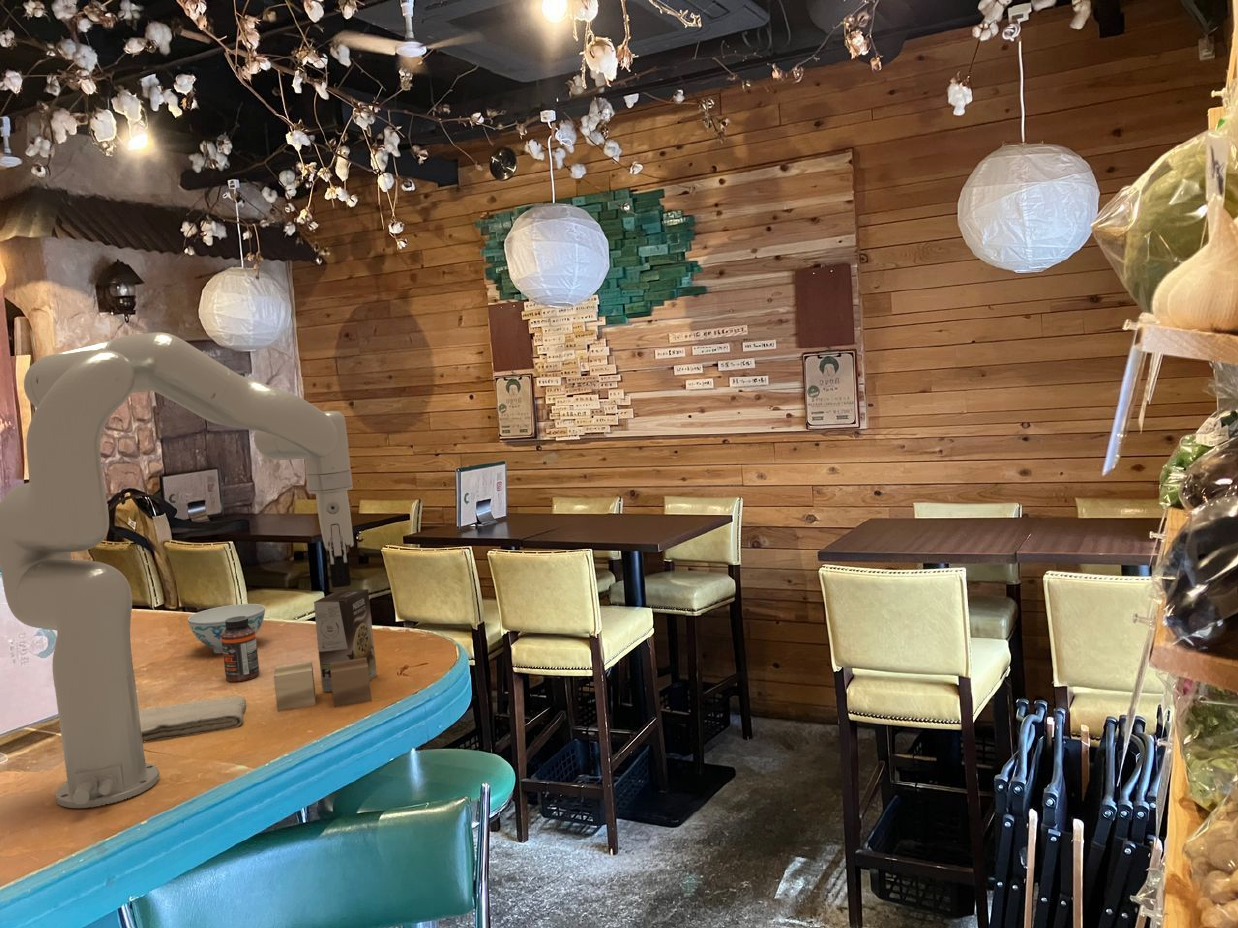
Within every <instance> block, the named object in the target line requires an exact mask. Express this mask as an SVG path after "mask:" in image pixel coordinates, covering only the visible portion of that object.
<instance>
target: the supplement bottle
mask: <svg viewBox="0 0 1238 928" xmlns="http://www.w3.org/2000/svg"><path fill="white" fill-rule="evenodd" d="M248 624H249V622H248V617H247V616H237V617H232V618H228V619H226V620H225V627H226V629H225V631H224V632H223V633H222V635H221V639H222V648H223V653H222V655H223V665H224V675H225V679H226V680H227V681H228V682H231V683H232V682H233V683H239V682H245V681H249V680H252V679H255V678H256V677H258V676H259V674H260V664H259V655H258V647H257V637H256V635H255V630H254V629H253V628H252V627H250V626H249V625H248Z"/></svg>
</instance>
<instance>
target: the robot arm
mask: <svg viewBox="0 0 1238 928" xmlns="http://www.w3.org/2000/svg"><path fill="white" fill-rule="evenodd" d="M23 389H24V393H25V396H26V398H27V400H28V401H29V402H30V403H31V405H33V407H35V408H36V409H35V410H34V412H33V415H32V417H31V419H30V423H29V425H28V429H27V434H26V444H25V445H26V458H27V461H26V462H27V471H28V481H29V482H26V483H23V484H20V485H17V486H16V487H13V488H12V489H11V490H10V491H7V493H6V494H5V496H4V497H3V498H2V499H1V501H0V575H1V579H2V586H3V592H4V596H5V600H6V603H7V605H8V608H9V610H10V612H11V613H12V615H13V616H14V618H15V619H17V620H18V621H20V623H22V624H24V625H26V626H29V627H31V628H35V629H41V630H42V629H43V630H52V631H56V633H57V634H56V641H55V646H54V650H53V653H52V654H53V655H52V664H51V665H52V679H53V686H54V689H55V690H54V691H55V698H56V705H57V707H56V708H57V712H58V714H57V715H58V720H59V728H60V736H61V744H62V750H63V758H64V765H65V773H66V779H67V781H66V782H64V783H63V784H62V785H61V786H60V787H58V789H57V790H56V792H55V798H56V803H57V804H58V805H59V806H61V807H65V808H68V809H69V808H70V809H88V808H89V807H90V808H96V806H97V807H102V806H101V805H103V806H106V805H105V804H108V805H110V803H111V804H115V803H118V801H119V802H121V801H124V799H125V800H127V798H128V799H130V798H133V797H136V796H137V795H139V794H143V793H144V792H145V791H147V790H149V789H151V788H152V787H153V786H155V785H156V784H157V782H158V781H159V779H160V776H161V775H160V769H159V767H158V766H157V765H155V764H153V763H149V762H146V757H145V749H144V742H143V739H142V731H141V723H140V716H139V711H140V708H139V701H138V694H137V693H138V692H137V687H136V685H137V684H136V679H135V678H136V677H135V670H134V664H133V663H134V661H133V654H132V642H131V624H132V623H131V621H132V609H133V595H132V588H131V585H130V583H129V580H128V579H127V577H125V575H124V574H123V573H122V572H121V571H120V570H119V569H117V568H116V567H114V566H112V565H110V564H107V563H104V562H101V561H95V560H79V559H77V560H76V559H73V558H72V553H75V552H76V553H77V552H84V551H89V550H90V549H93V548H96V547H98V546H99V545H100V544H101V543H102V542H104V540H105V538H106V537H107V535H108V533H109V528H110V515H109V506H108V500H107V493H106V486H105V482H104V481H105V480H104V474H103V467H102V466H103V465H102V455H101V441H102V435H103V433H104V429H105V427H106V425H107V423H108V421H109V419H110V418H111V416H113V415H114V413H115V412H116V411H117V410H118V409H119V408H120V407H121V406H122V405H124V404H125V403H126V401H127V400H128V399H129V398H130V396H131V394H133V393H135V394H137V393H143V392H144V393H145V392H153V393H156V394H159V395H161V396H162V397H164V398H166V399H168V400H169V401H171V402H173V403H175V404H177V405H179V406H181V407H182V408H185V409H186V410H188V411H190V412H191V413H193V414H195V415H197V416H198V417H201V418H203V420H206V421H208V422H211V423H213V424H216V425H220V426H225V427H230V428H237V429H243V430H244V429H245V430H252V431H254V434H253V441H254V445H255V447H256V450H257V451H258V452H259V453H260V454H261V455H263V456H264V457H266V458H268V459H270V460H277V461H284V460H285V461H288V460H289V461H290V460H292V461H293V460H304V467H305V474H306V476H305V477H306V483H307V493H308V494H311V495H315V498H316V507H317V514H318V521H319V527H320V528H319V529H320V533H321V536H322V542H323V546H324V548H325V549H326V550H328V551H329V557H330V558H329V559H330V563H329V571H330V580H331V586H332V587H331V588H342V587H348V586H351V583H352V581H351V574H350V564H349V563H350V562H349V561H348V558H347V548H346V546H349V547H350V548H352V547H354V545H355V543H354V533H353V525H352V516H351V508H350V506H351V505H350V501H349V500H350V499H349V496H348V495H349V494H348V491H350V490H353V488H354V486H353V476H352V469H351V457H350V449H349V440H348V432H347V431H348V430H347V423H346V417H345V415H344V414H343V413H342V412H340V411H337V410H336V411H335V410H328V411H323V410H321V409H320V408H318V407H316V406H315V405H314V404H312V403H310V402H309V401H308V400H305V399H303V398H302V397H300V396H298V395H296V394H294V393H292V392H289V391H286V390H283V389H281V388H278V387H274V386H272V385H269V384H266V383H264V382H261V381H258V380H256V379H252V378H249V377H246V376H244V375H241V374H239V373H237V372H235V371H233V370H232V369H230V368H229V367H227V366H226V365H224V364H222V363H221V362H219V361H217V360H216V359H214V358H212V357H211V356H209V355H208V354H206V353H205V352H203V351H202V350H200V349H198V348H196V347H195V346H194V345H192V344H191V343H189V342H187V341H186V340H184V339H182V338H180V337H178V336H176V335H174V334H171V333H168V332H161V331H160V332H157V331H156V332H147V333H140V334H131V335H126V336H125V335H124V336H121V337H117V338H112V339H110V340H106V341H101V342H98V343H95V344H91V345H86V346H83V347H78V348H75V349H74V348H73V349H71V350H66V351H60V352H58V353H54V354H50V355H46V356H43V357H41V358H39V359H38V360H35V361H34V362H33V363H32V364H31V365H30V366H29V368H28V369H27V371H26V373H25V375H24V380H23ZM132 796H133V797H132ZM90 808H89V809H90Z"/></svg>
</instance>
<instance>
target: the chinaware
mask: <svg viewBox="0 0 1238 928" xmlns="http://www.w3.org/2000/svg"><path fill="white" fill-rule="evenodd" d="M265 613H266V606H265V605H263V604H257V603H242V604H241V603H238V604H230V605H224V606H218V607H213V608H209V609H205V610H201V611H197V612H196V613H193V614H191V615H190V616H188V618H187V622H188V626H189V628H190V630H191V631H192V633H193V635H194V636H195V637H196V639H198V641H199V642H201V643H202V644H203V645H205V646H207V647H209V648H211V649H212V650H213V653H215V654H221V653H222V654H223V648H222V639H221V635H222V633H223V632H224V631H225V629H226V627H225V620H226V619H228V618H232V617H237V616H247V617H248V622H249V624H248V625H249V626H250V627H252V628H253V629H254V630H255V636H256V635H258V634H259V633H258V632H259V631H260V630H261V628H262V626H263V623H264V619H265Z"/></svg>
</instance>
